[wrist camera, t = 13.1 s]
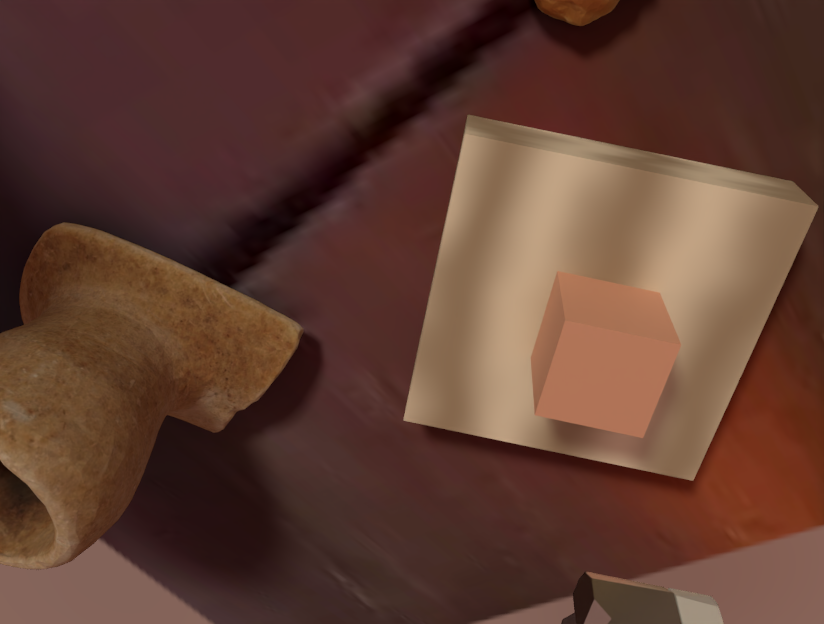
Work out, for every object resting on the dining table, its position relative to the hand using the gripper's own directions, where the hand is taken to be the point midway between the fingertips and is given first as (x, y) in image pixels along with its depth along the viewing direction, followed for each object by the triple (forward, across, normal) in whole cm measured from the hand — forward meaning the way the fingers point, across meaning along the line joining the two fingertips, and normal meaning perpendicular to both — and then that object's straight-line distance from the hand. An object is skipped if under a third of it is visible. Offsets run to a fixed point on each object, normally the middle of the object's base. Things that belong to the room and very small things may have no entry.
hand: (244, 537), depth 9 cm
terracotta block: (+28, -10, +10) cm, 31 cm away
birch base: (+32, -10, +10) cm, 35 cm away
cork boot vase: (+31, +13, +18) cm, 38 cm away
